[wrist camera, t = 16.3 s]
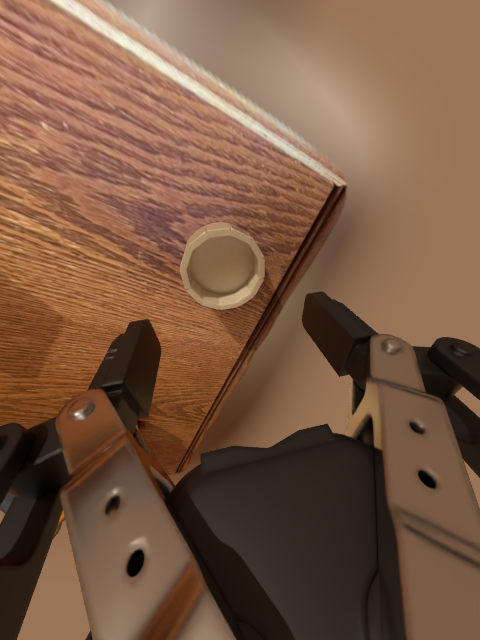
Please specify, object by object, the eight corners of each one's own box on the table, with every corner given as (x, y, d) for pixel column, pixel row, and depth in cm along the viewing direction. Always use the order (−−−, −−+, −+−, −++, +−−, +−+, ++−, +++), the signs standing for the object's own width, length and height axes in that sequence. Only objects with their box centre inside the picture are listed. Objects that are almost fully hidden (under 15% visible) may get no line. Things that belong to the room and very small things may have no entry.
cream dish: (197, 206, 14) (197, 211, 12) (270, 242, 16) (280, 251, 14) (174, 282, 17) (170, 296, 15) (238, 303, 19) (243, 317, 17)
